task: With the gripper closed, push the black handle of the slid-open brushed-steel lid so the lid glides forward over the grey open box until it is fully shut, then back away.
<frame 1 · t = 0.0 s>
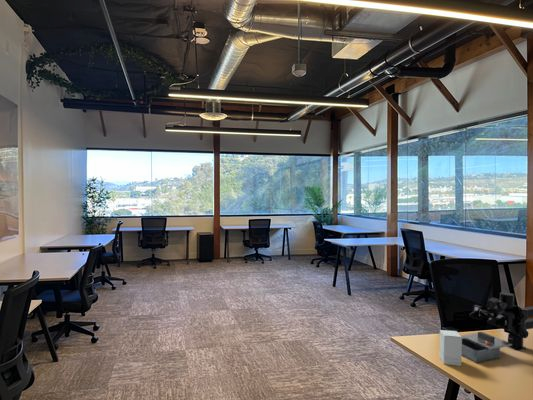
hand: (478, 318, 169), 17 cm above the table, tool horizontal, fingers open, 9 cm apart
grey open box: (474, 354, 169), on the table
lid: (485, 337, 171), point 7 cm above the table, slide at 7.0 cm
supplement box: (449, 362, 161), on the table
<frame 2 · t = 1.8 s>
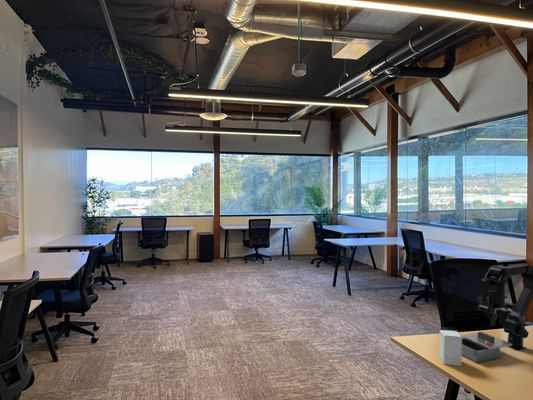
hand: (496, 325, 174), 12 cm above the table, tool pointing down, fingers open, 5 cm apart
nothing on the table moved.
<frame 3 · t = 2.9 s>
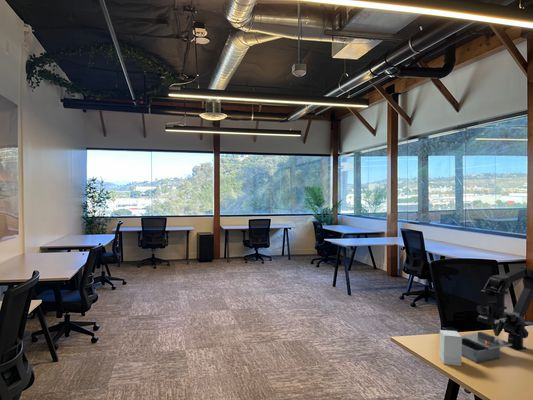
hand: (496, 336, 174), 7 cm above the table, tool pointing down, fingers closed
nothing on the table moved.
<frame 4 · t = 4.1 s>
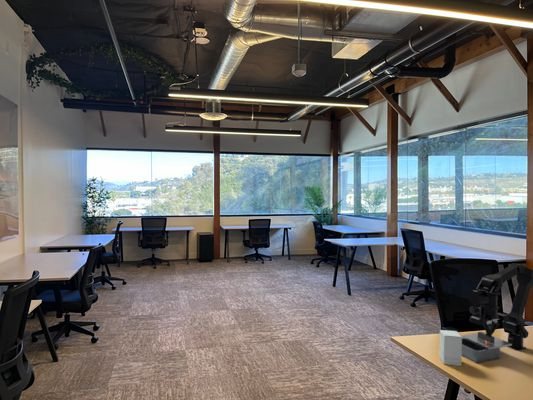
hand: (488, 336, 172), 7 cm above the table, tool pointing down, fingers closed
lid: (485, 337, 171), point 7 cm above the table, slide at 7.0 cm, touching gripper
everything else where it was.
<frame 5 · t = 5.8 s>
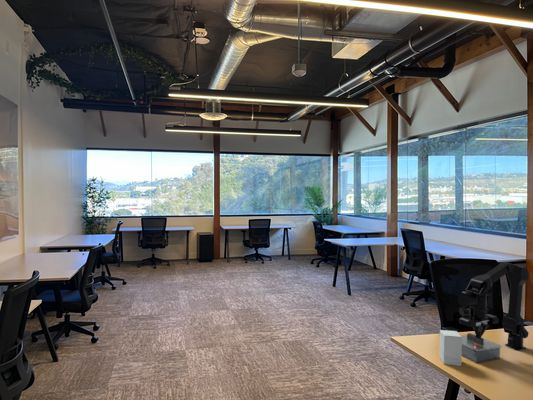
hand: (478, 338, 170), 7 cm above the table, tool pointing down, fingers closed
lid: (475, 339, 169), point 7 cm above the table, slide at 0.2 cm, touching gripper
everything else where it was.
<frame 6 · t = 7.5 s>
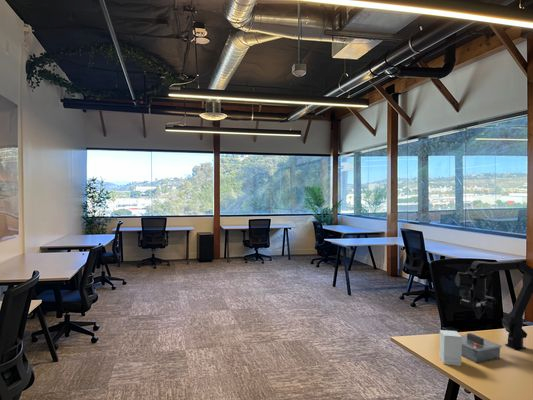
hand: (478, 318, 180), 13 cm above the table, tool pointing down, fingers closed
lid: (475, 339, 169), point 7 cm above the table, slide at 0.2 cm
everything else where it was.
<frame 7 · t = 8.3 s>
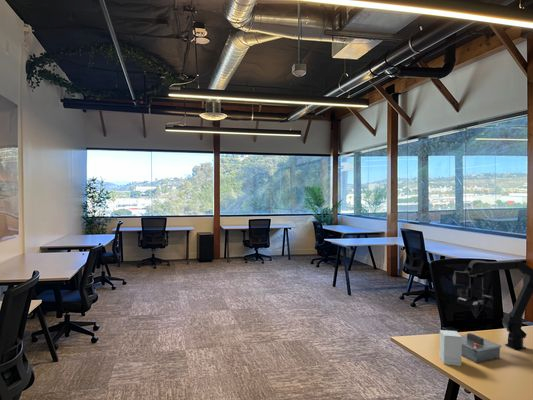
hand: (475, 317, 182), 13 cm above the table, tool pointing down, fingers closed
nothing on the table moved.
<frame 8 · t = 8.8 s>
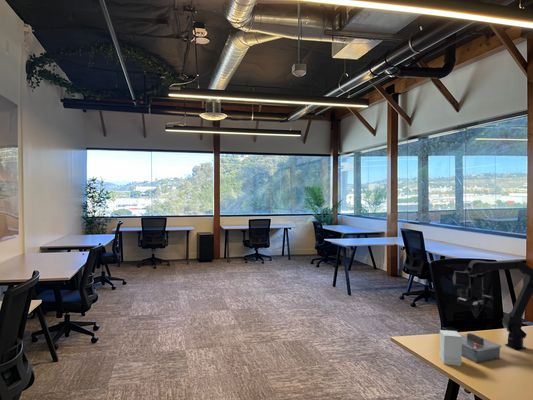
hand: (475, 317, 182), 13 cm above the table, tool pointing down, fingers closed
nothing on the table moved.
at the end: lid slide at 0.2 cm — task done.
